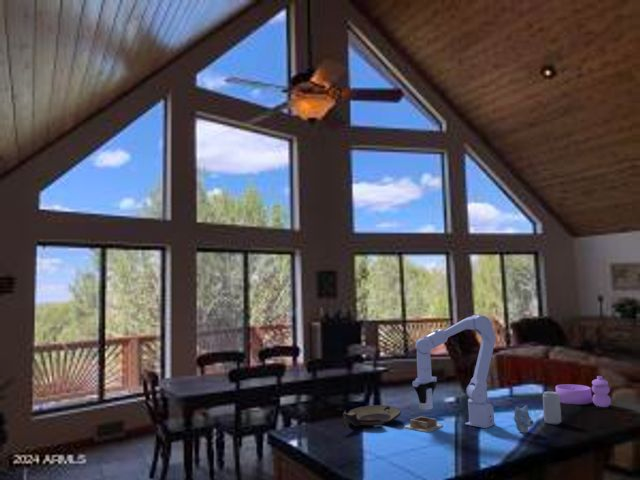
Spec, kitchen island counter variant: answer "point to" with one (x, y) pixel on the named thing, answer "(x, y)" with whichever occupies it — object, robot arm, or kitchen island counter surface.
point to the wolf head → (522, 419)
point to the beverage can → (551, 407)
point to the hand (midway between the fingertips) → (425, 402)
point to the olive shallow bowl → (372, 415)
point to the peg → (427, 400)
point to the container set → (585, 393)
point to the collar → (423, 424)
